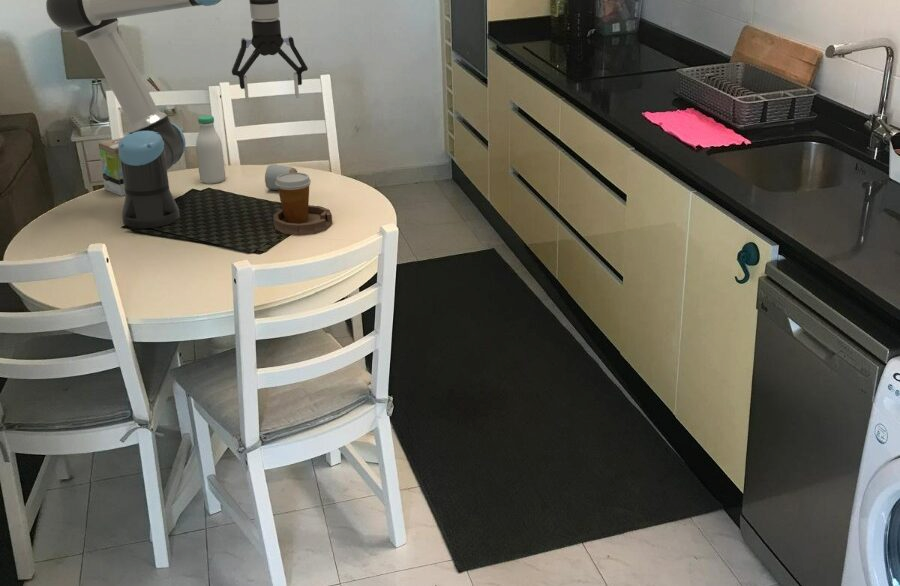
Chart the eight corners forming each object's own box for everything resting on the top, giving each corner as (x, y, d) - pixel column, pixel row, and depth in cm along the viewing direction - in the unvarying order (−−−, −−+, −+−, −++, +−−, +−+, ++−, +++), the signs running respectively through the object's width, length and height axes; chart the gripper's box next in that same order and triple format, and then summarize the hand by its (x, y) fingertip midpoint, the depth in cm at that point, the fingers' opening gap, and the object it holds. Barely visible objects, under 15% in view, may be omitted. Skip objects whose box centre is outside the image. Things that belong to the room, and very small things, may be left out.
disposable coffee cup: (272, 223, 261) (268, 181, 256) (288, 212, 269) (284, 170, 264) (304, 226, 258) (301, 183, 253) (319, 215, 267) (316, 173, 262)
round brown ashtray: (277, 237, 254) (276, 227, 253) (271, 217, 267) (271, 208, 266) (335, 231, 258) (335, 221, 256) (327, 212, 271) (326, 203, 270)
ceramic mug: (290, 194, 285) (289, 169, 282) (265, 192, 287) (263, 167, 284) (304, 184, 294) (303, 159, 291) (279, 182, 296) (278, 157, 293)
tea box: (122, 197, 284) (114, 148, 278) (104, 189, 290) (96, 142, 284) (166, 184, 294) (159, 137, 288) (148, 177, 300) (141, 131, 294)
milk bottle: (230, 180, 298) (223, 116, 289) (209, 186, 293) (202, 121, 284) (216, 174, 303) (209, 112, 294) (195, 180, 298) (187, 117, 289)
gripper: (310, 14, 261) (315, 92, 270) (216, 19, 256) (225, 98, 265) (314, 19, 255) (319, 98, 264) (218, 24, 249) (226, 105, 258)
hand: (272, 98), depth 264 cm, fingers open, 13 cm apart
